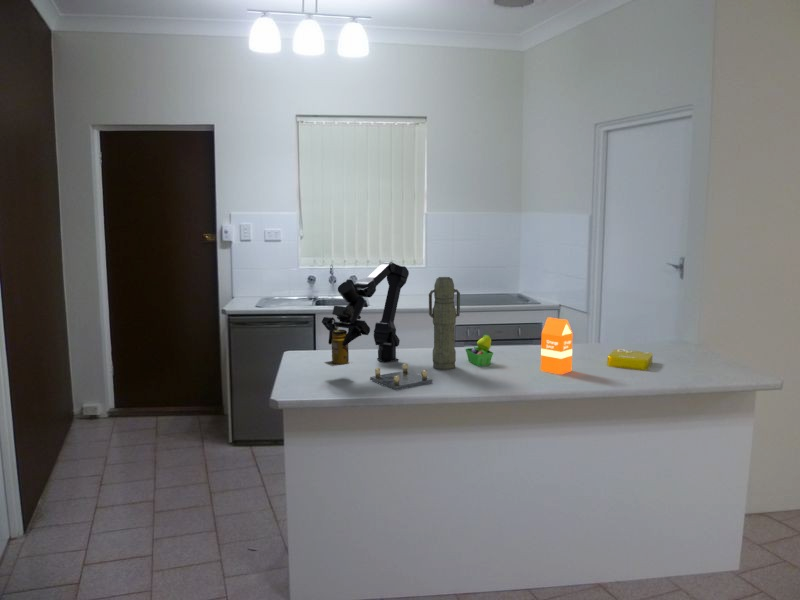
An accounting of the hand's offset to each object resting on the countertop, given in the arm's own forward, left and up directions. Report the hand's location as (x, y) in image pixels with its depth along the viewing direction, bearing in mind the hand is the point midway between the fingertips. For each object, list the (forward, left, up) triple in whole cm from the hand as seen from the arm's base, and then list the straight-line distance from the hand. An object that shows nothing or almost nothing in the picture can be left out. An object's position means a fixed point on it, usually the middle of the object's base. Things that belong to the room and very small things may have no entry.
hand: (336, 344), depth 244 cm
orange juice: (-73, +38, -13) cm, 83 cm away
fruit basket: (-58, +12, -13) cm, 61 cm away
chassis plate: (-17, +16, -13) cm, 27 cm away
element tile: (-104, +48, -13) cm, 115 cm away
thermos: (-42, +9, -13) cm, 45 cm away
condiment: (-1, -1, -7) cm, 8 cm away
